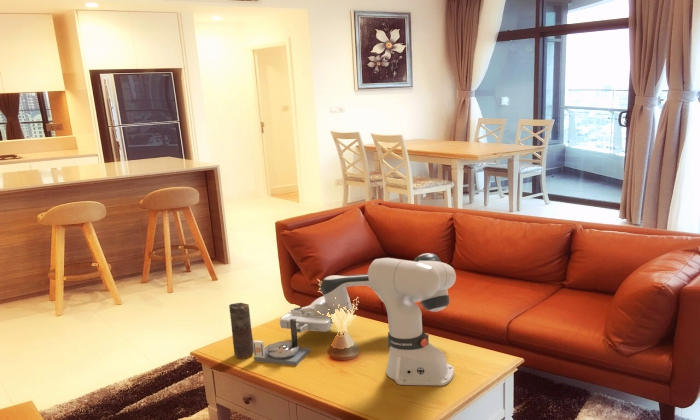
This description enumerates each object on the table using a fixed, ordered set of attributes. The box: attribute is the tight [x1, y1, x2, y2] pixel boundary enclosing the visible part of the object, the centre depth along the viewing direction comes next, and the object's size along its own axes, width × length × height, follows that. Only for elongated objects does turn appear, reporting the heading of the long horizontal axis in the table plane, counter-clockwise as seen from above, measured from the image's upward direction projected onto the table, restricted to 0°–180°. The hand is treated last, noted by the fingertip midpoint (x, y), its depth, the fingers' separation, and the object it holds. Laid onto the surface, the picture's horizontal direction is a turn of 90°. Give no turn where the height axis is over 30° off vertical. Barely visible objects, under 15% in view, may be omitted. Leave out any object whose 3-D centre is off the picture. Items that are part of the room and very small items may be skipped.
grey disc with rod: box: [267, 319, 300, 359], centre depth 210 cm, size 12×12×12 cm
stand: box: [253, 340, 311, 367], centre depth 210 cm, size 17×13×8 cm
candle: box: [228, 302, 254, 360], centre depth 213 cm, size 8×7×20 cm
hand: (297, 330), depth 213 cm, fingers closed
